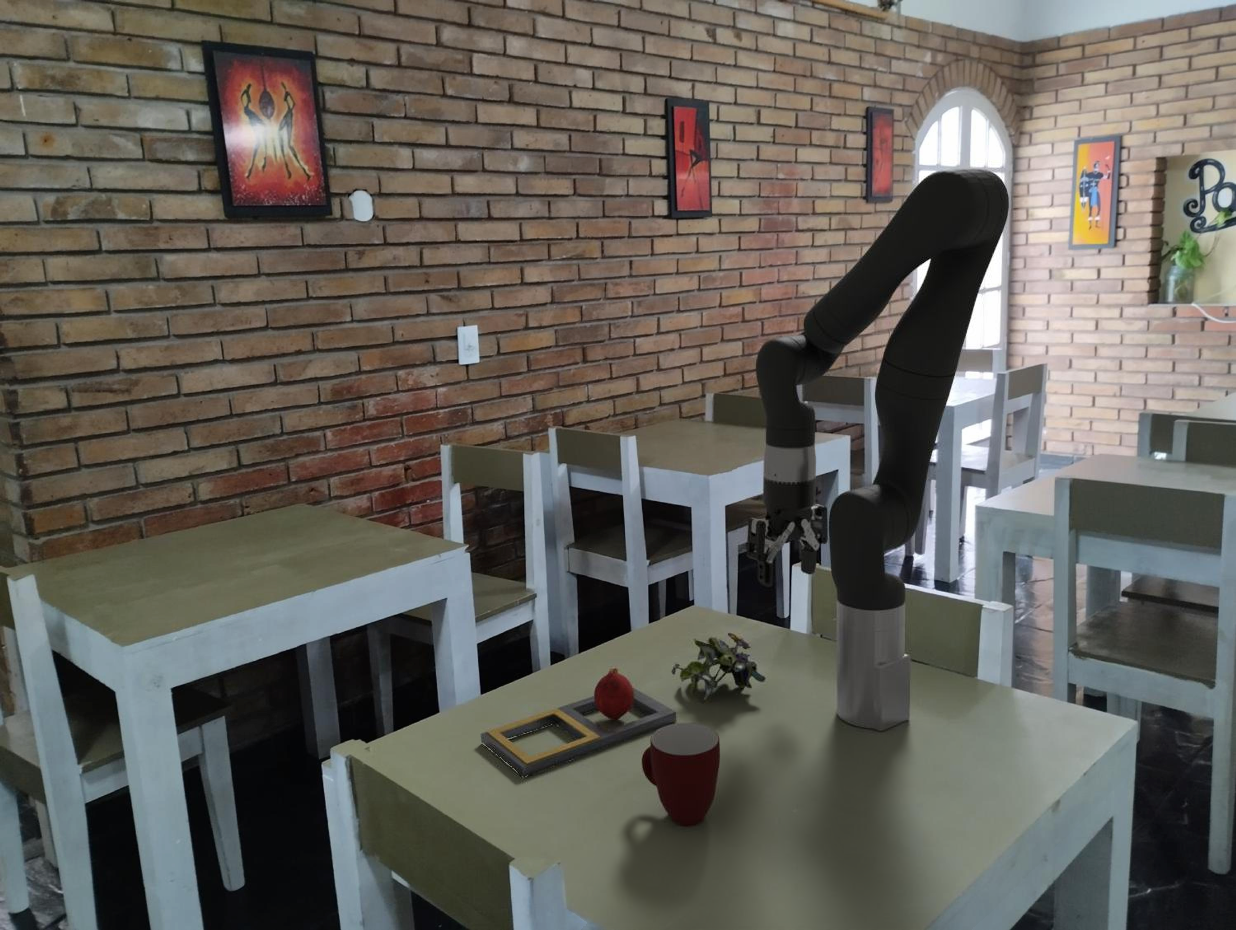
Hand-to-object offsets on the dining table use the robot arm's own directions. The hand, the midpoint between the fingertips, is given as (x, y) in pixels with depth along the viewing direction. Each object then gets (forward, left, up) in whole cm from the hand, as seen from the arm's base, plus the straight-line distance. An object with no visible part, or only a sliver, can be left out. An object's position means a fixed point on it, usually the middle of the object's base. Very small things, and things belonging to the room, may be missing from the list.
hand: (787, 578), depth 144 cm
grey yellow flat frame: (+8, +33, -17) cm, 38 cm away
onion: (+8, +27, -18) cm, 33 cm away
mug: (-17, +35, -18) cm, 42 cm away
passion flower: (+5, +10, -18) cm, 21 cm away
